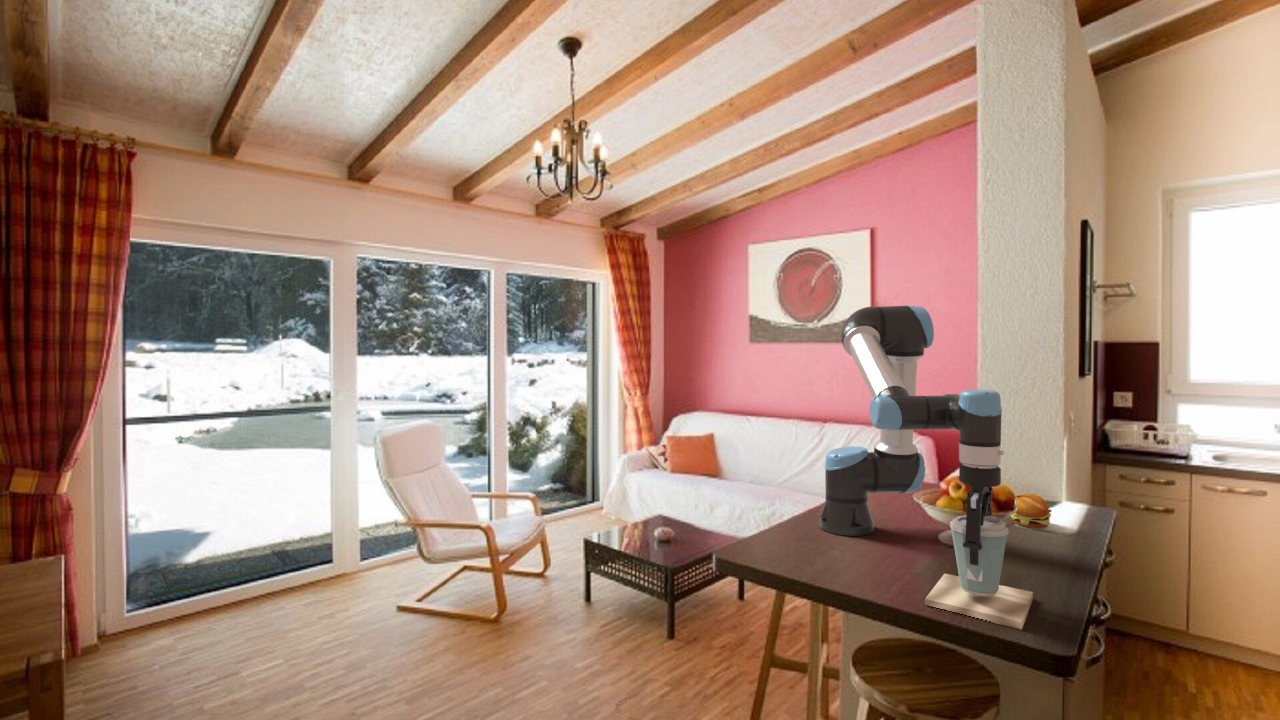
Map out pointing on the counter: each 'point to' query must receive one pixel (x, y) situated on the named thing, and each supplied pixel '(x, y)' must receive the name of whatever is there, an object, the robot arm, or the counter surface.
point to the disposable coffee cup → (980, 555)
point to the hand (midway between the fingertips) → (979, 572)
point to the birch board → (982, 602)
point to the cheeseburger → (1031, 511)
